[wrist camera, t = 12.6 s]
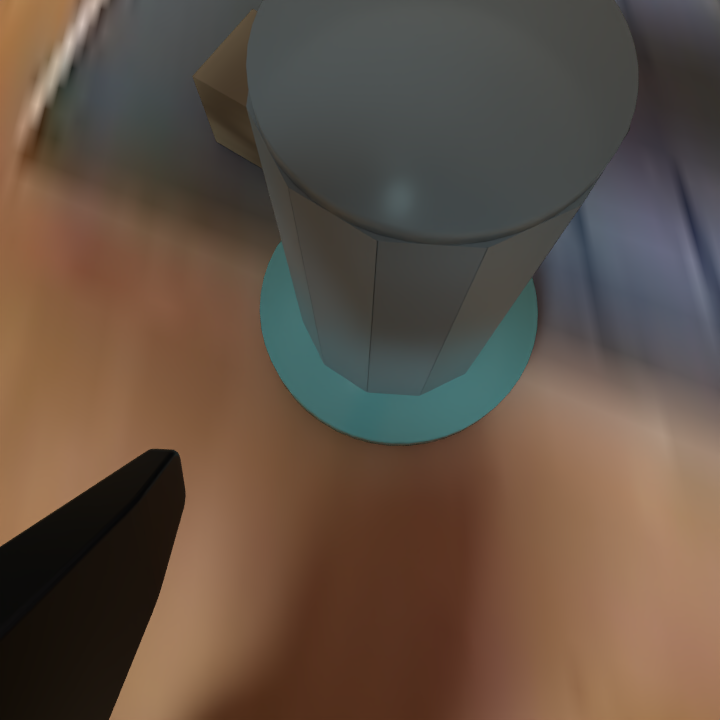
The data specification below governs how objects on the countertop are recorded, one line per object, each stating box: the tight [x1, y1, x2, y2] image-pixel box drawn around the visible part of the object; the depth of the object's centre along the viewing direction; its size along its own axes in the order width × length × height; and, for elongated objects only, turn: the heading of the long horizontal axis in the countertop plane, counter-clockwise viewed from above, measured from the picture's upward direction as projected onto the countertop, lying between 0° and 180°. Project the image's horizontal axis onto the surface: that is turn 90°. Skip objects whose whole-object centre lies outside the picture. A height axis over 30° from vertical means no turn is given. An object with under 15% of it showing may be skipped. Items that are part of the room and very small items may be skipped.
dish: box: [260, 241, 538, 446], centre depth 24 cm, size 11×11×1 cm
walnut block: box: [193, 9, 262, 168], centre depth 25 cm, size 4×4×4 cm
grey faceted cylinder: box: [246, 0, 638, 396], centre depth 17 cm, size 7×7×12 cm
